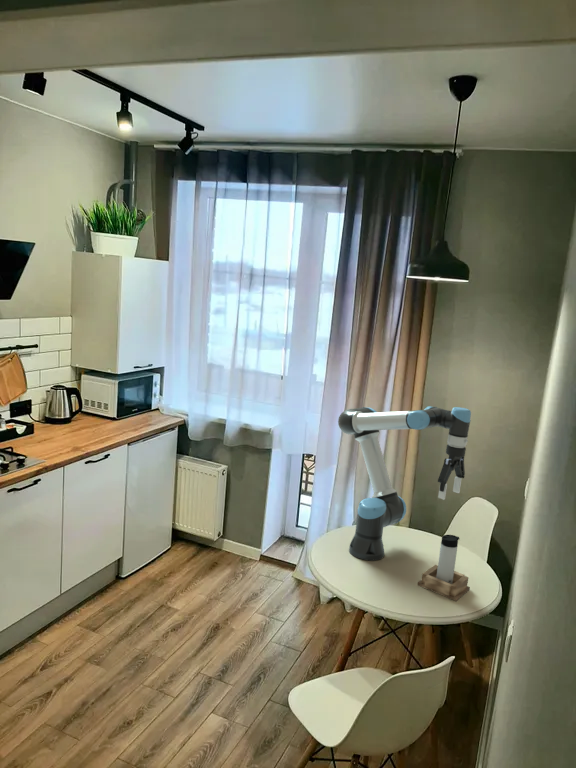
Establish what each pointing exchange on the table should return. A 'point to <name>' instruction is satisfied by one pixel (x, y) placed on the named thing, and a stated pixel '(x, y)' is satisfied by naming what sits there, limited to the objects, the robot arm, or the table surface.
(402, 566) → the table surface
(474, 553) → the table surface
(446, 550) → the travel mug
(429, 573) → the holder
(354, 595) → the table surface
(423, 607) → the table surface
